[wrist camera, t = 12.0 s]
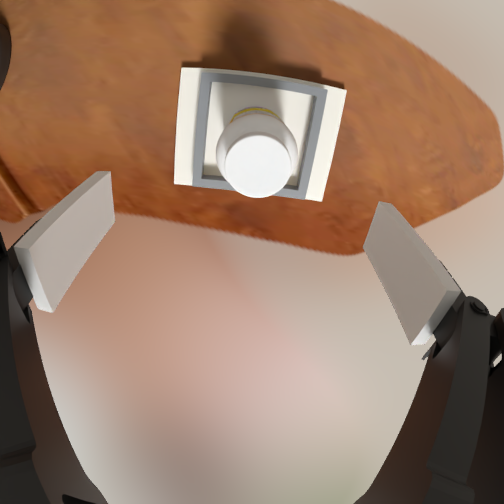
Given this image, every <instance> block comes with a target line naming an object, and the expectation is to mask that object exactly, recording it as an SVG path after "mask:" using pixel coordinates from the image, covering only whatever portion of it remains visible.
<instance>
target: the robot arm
mask: <svg viewBox="0 0 504 504" xmlns="http://www.w3.org/2000/svg"><path fill="white" fill-rule="evenodd" d="M10 53H11V41H10V35H9V32H8V30H7V28H6V27H5V26H4V25H3V24H1V23H0V90H1V87H2V85H3V83H4V80H5V77H6V74H7V70H8V66H9V61H10ZM114 222H115V216H114V206H113V196H112V185H111V171H97V172H96V173H94V174H93V175H92V176H90V177H89V178H88V179H87V180H85V181H84V182H83V183H82V184H80V185H79V186H78V187H77V188H76V189H74V190H73V191H72V192H71V193H70V194H68V195H67V196H66V197H65V198H64V199H63V200H61V201H60V202H59V203H58V204H57V205H56V206H55V207H53V208H52V209H51V210H50V211H49V212H48V213H47V214H46V215H45V216H44V217H43V218H41V219H39V220H38V221H36V222H35V223H34V224H33V225H32V226H31V227H30V228H29V230H27V231H26V232H25V233H24V235H22V236H21V237H20V238H19V239H18V240H17V241H16V242H15V243H14V244H13V245H12V246H11V248H10V249H9V250H8V251H7V250H6V247H5V244H4V242H3V238H2V235H1V232H0V504H108V503H107V501H106V500H105V498H104V497H103V495H102V494H101V492H100V491H99V490H98V488H97V487H96V486H95V485H94V484H93V483H92V482H91V481H90V479H89V478H88V477H87V475H86V474H85V472H84V470H83V468H82V466H81V464H80V462H79V460H78V458H77V456H76V454H75V452H74V450H73V448H72V446H71V443H70V441H69V439H68V436H67V434H66V432H65V429H64V427H63V424H62V422H61V419H60V417H59V414H58V411H57V408H56V406H55V403H54V400H53V397H52V394H51V391H50V388H49V384H48V382H47V378H46V374H45V371H44V367H43V363H42V359H41V355H40V351H39V347H38V343H37V338H36V333H35V328H34V322H33V317H32V311H31V309H30V307H29V302H30V301H31V299H32V298H34V301H35V302H36V305H37V307H38V309H40V310H44V311H48V312H51V313H53V312H54V311H55V309H56V307H57V306H58V304H59V302H60V301H61V299H62V297H63V296H64V294H65V293H66V291H67V289H68V288H69V286H70V285H71V283H72V282H73V280H74V278H75V277H76V275H77V274H78V272H79V271H80V269H81V268H82V266H83V265H84V264H85V262H86V261H87V259H88V258H89V256H90V255H91V253H92V252H93V251H94V249H95V248H96V246H97V245H98V244H99V242H100V241H101V240H102V238H103V237H104V236H105V234H106V233H107V231H108V230H109V229H110V227H111V226H112V225H113V224H114ZM363 249H364V250H365V252H366V254H367V256H368V258H369V260H370V261H371V263H372V265H373V267H374V269H375V271H376V273H377V275H378V277H379V279H380V281H381V282H382V284H383V287H384V289H385V291H386V293H387V295H388V297H389V299H390V301H391V303H392V305H393V307H394V309H395V311H396V313H397V315H398V318H399V320H400V322H401V325H402V327H403V329H404V331H405V334H406V336H407V338H408V340H409V343H410V345H419V344H425V343H426V342H427V341H428V339H429V338H430V337H431V335H432V334H434V336H435V338H436V341H435V342H434V344H433V345H432V346H431V347H430V349H429V350H428V351H427V352H426V354H425V355H424V356H423V358H422V359H423V360H424V359H425V358H426V357H428V360H427V363H426V366H425V369H424V372H423V375H422V378H421V381H420V384H419V386H418V389H417V392H416V395H415V397H414V400H413V402H412V405H411V407H410V409H409V412H408V414H407V416H406V419H405V421H404V424H403V426H402V428H401V430H400V432H399V434H398V436H397V439H396V441H395V443H394V445H393V447H392V449H391V451H390V452H389V455H388V456H387V458H386V460H385V462H384V464H383V466H382V467H381V469H380V471H379V473H378V474H377V476H376V478H375V480H374V481H373V483H372V485H371V486H370V488H369V489H368V490H367V492H366V493H365V494H364V495H363V496H362V497H360V498H359V499H358V500H357V501H356V502H355V503H354V504H504V308H502V309H501V310H500V312H499V314H498V315H497V316H496V317H495V316H492V315H490V314H489V311H488V309H487V307H486V306H485V305H484V304H483V303H482V302H481V301H480V300H478V299H477V298H474V297H472V296H468V297H466V296H465V294H464V293H463V291H462V290H461V288H460V287H459V286H458V284H457V283H456V281H455V280H454V279H453V278H452V276H451V274H450V273H449V272H447V269H446V268H445V266H444V265H443V264H442V263H441V262H440V261H439V260H438V259H437V257H436V256H435V255H434V253H433V252H432V251H431V250H430V249H429V247H428V246H427V245H426V243H425V242H424V241H423V240H422V238H421V237H420V236H419V235H418V234H417V233H416V231H415V230H414V229H413V228H412V226H411V225H410V224H409V223H408V222H407V221H406V219H405V218H404V217H403V216H402V215H401V214H400V213H399V212H398V210H397V209H396V208H395V207H394V206H393V205H392V204H390V203H385V202H380V201H379V203H378V206H377V209H376V212H375V215H374V218H373V220H372V223H371V226H370V229H369V232H368V235H367V237H366V240H365V243H364V245H363ZM501 353H502V360H501V361H500V362H499V363H498V364H497V365H496V366H495V367H494V364H493V362H494V361H495V359H496V358H497V357H498V356H499V355H500V354H501Z"/></svg>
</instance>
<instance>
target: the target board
mask: <svg viewBox="0 0 504 504" xmlns="http://www.w3.org/2000/svg"><path fill="white" fill-rule="evenodd" d="M346 91H347V90H343V89H339V88H335V87H331V86H327V85H323V84H319V83H314V82H309V81H304V80H299V79H294V78H288V77H282V76H276V75H270V74H262V73H255V72H246V71H236V70H225V69H210V68H182V69H181V79H180V89H179V100H178V113H177V128H176V146H175V171H174V184H182V185H192V186H195V187H206V188H216V189H226V190H235V189H234V188H233V187H232V186H231V185H230V183H229V182H228V181H227V180H226V179H225V178H224V177H223V175H222V174H221V172H220V170H219V168H218V165H217V162H216V146H217V142H218V139H219V137H220V135H221V134H222V132H223V130H224V128H225V126H226V125H227V123H228V121H229V120H230V118H231V117H232V116H233V115H234V114H235V113H236V112H238V111H240V110H242V109H244V108H247V107H263V108H266V109H269V110H271V111H272V112H274V113H275V114H276V115H277V116H278V117H279V118H280V119H281V120H282V121H283V122H284V124H285V125H286V126H287V127H288V128H289V130H290V131H291V133H292V134H293V136H294V138H295V140H296V143H297V148H298V159H297V164H296V167H295V169H294V171H293V173H292V175H291V176H290V177H289V179H288V181H287V183H286V184H285V186H284V187H283V188H282V189H281V190H279V191H278V192H276V193H275V194H273V195H275V196H283V197H290V198H297V199H304V200H305V199H309V200H316V201H322V198H323V194H324V190H325V186H326V182H327V178H328V174H329V170H330V166H331V161H332V157H333V153H334V148H335V144H336V139H337V135H338V130H339V126H340V121H341V116H342V111H343V106H344V101H345V96H346ZM235 191H236V190H235Z"/></svg>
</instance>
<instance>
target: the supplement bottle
mask: <svg viewBox="0 0 504 504" xmlns="http://www.w3.org/2000/svg"><path fill="white" fill-rule="evenodd" d="M297 159H298V148H297V143H296V140H295V138H294V136H293V134H292V133H291V131H290V130H289V128H288V127H287V126H286V125H285V124H284V122H283V121H282V120H281V119H280V118H279V117H278V116H277V115H276V114H275V113H274V112H272V111H271V110H269V109H266V108H263V107H247V108H244V109H242V110H240V111H238V112H236V113H235V114H234V115H233V116H232V117H231V118H230V120H229V121H228V123H227V125H226V126H225V128H224V130H223V132H222V134H221V135H220V137H219V139H218V142H217V146H216V162H217V165H218V168H219V170H220V172H221V174H222V175H223V177H224V178H225V179H226V180H227V181H228V182H229V183H230V185H231V186H232V187H233V188H234V189H235V190H236V191H238V192H239V193H241V194H243V195H246V196H249V197H255V198H262V197H267V196H270V195H273V194H275V193H276V192H278V191H279V190H281V189H282V188H283V187H284V186H285V184H286V183H287V181H288V179H289V177H290V176H291V175H292V173H293V171H294V169H295V167H296V164H297Z"/></svg>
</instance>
